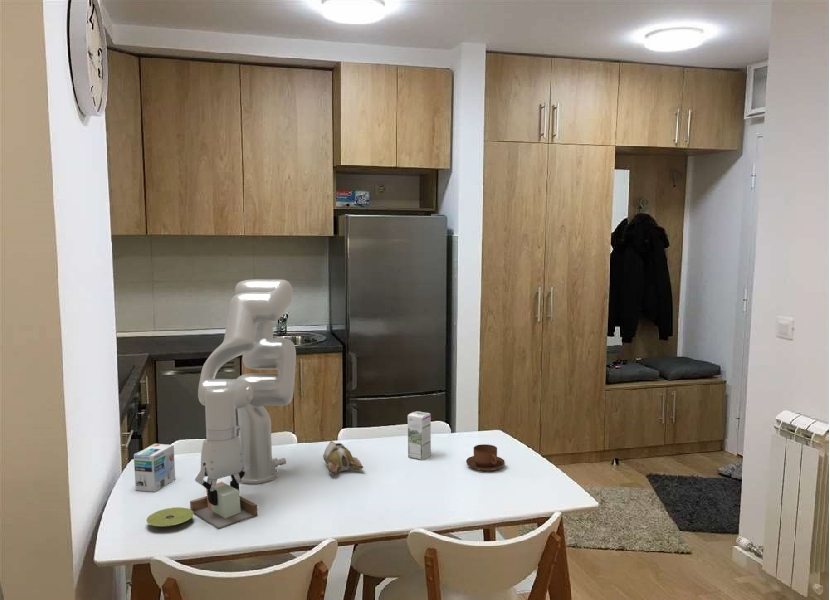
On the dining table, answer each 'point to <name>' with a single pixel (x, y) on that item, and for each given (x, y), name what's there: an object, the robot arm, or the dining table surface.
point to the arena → (218, 521)
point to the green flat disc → (170, 516)
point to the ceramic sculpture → (339, 458)
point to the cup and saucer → (485, 458)
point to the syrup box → (419, 435)
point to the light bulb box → (154, 467)
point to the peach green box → (225, 500)
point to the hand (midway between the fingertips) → (224, 499)
